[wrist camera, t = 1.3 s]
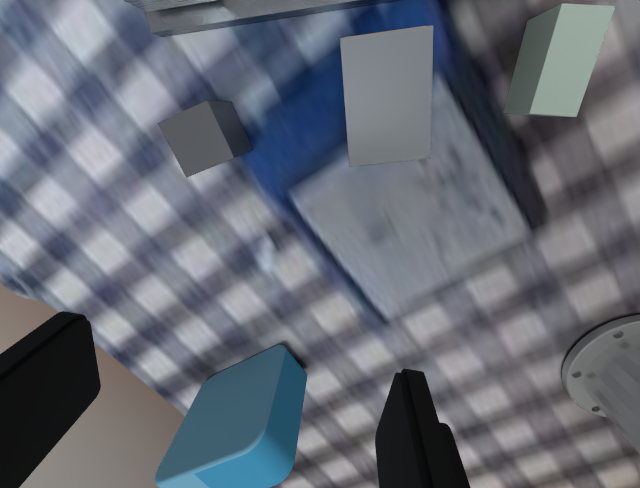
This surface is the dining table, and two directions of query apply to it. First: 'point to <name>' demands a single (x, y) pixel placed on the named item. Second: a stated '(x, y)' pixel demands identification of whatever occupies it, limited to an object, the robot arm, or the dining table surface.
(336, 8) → the rail base
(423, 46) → the block
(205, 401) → the blue flat block
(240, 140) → the block
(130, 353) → the dining table surface
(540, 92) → the block
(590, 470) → the dining table surface
